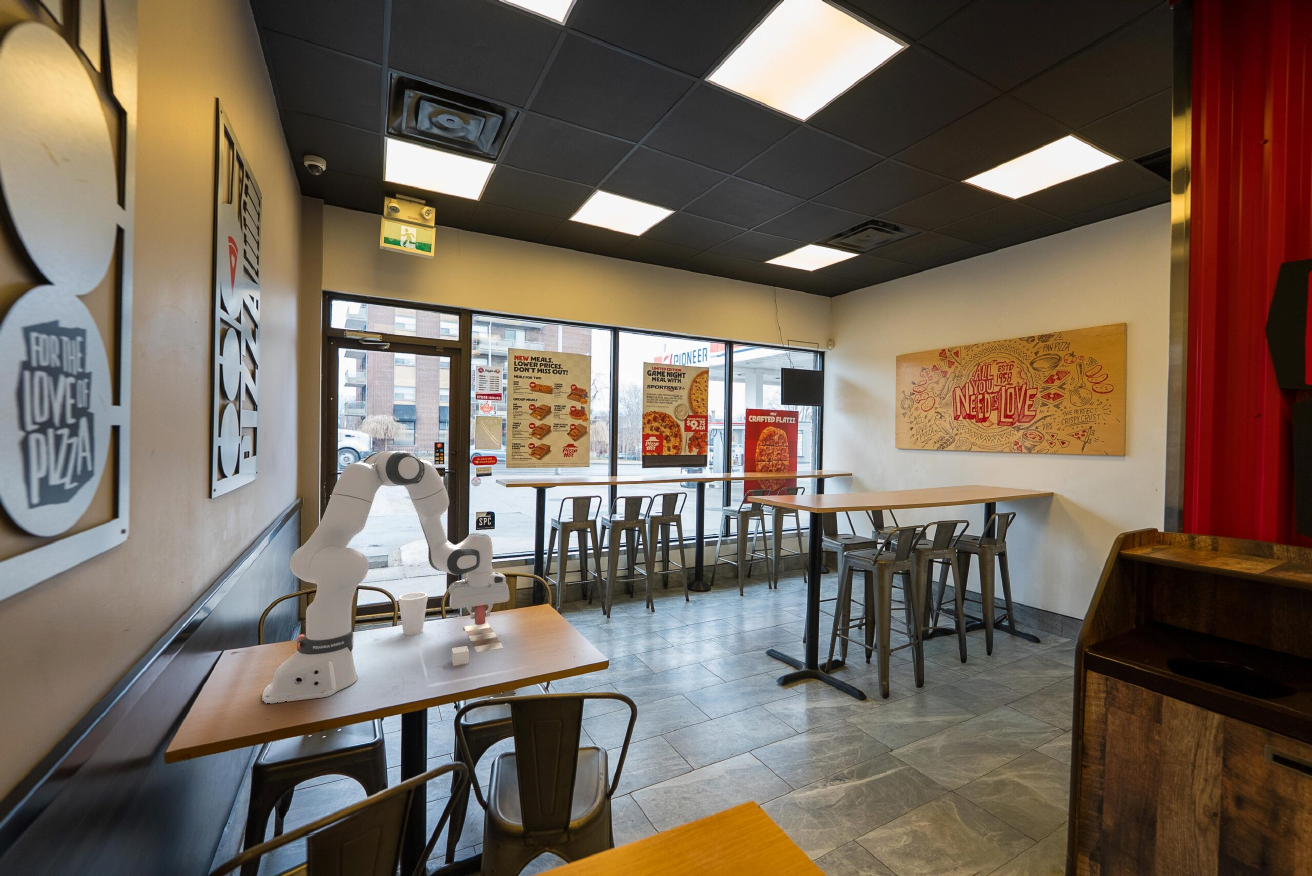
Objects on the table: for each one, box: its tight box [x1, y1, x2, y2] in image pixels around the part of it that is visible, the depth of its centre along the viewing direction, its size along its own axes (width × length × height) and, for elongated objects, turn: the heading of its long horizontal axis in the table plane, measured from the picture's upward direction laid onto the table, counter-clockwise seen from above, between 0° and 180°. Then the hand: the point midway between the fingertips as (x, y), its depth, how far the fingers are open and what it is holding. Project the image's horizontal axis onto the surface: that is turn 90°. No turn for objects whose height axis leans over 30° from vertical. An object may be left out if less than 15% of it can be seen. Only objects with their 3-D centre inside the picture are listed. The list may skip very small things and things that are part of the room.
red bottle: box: [474, 605, 486, 625], centre depth 196 cm, size 4×4×9 cm
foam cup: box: [398, 591, 428, 636], centre depth 197 cm, size 10×9×13 cm
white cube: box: [451, 645, 470, 667], centre depth 169 cm, size 4×4×4 cm
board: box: [462, 622, 504, 653], centre depth 191 cm, size 9×28×1 cm, turn 27°
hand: (480, 617), depth 196 cm, fingers closed on red bottle, 4 cm apart
